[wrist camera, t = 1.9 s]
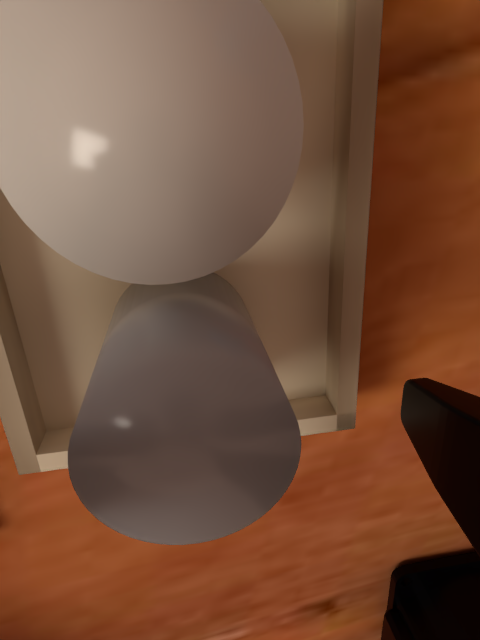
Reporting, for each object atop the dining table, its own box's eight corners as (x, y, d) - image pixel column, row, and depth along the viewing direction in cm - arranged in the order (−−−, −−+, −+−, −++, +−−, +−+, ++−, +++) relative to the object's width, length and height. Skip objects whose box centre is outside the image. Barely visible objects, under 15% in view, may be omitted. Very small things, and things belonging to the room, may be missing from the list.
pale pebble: (236, 39, 10) (304, -69, 5) (244, 215, 11) (302, 271, 6) (57, 44, 9) (-74, -70, 4) (91, 227, 11) (22, 297, 6)
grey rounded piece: (246, 258, 12) (301, 344, 7) (252, 382, 13) (300, 526, 8) (99, 272, 11) (42, 372, 6) (122, 398, 13) (92, 560, 8)
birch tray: (356, -29, 10) (387, -58, 9) (336, 400, 15) (354, 428, 13) (-101, -25, 9) (-153, -58, 8) (35, 439, 14) (19, 474, 12)
